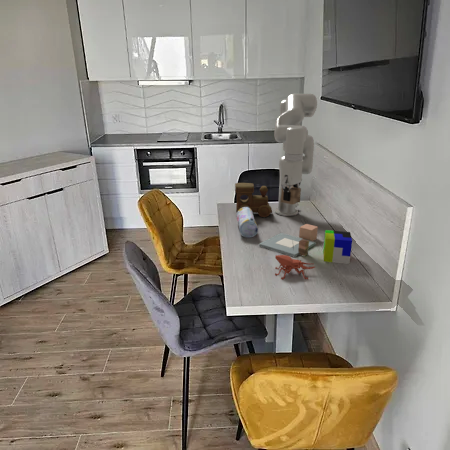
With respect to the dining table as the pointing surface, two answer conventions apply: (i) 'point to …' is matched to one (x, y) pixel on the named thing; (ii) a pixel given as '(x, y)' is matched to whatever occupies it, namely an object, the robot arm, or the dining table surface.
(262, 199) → the wooden toy train
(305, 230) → the terracotta block
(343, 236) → the puzzle toy
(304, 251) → the tower
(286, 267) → the beetle
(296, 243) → the board
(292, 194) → the walnut block
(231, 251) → the dining table surface
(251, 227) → the pencil case
